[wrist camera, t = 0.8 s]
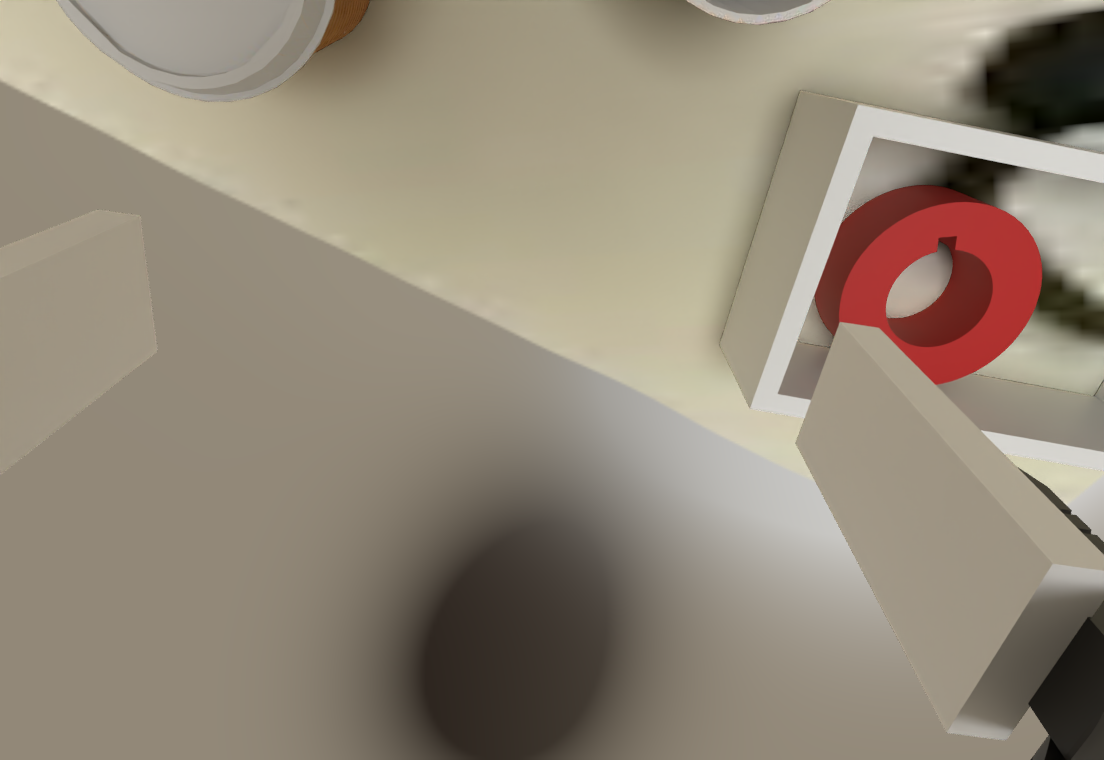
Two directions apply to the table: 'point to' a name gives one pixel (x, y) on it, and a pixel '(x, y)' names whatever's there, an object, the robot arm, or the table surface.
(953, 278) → the red notched ring
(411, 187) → the table surface
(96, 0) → the disposable coffee cup
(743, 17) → the coffee mug
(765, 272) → the tray
